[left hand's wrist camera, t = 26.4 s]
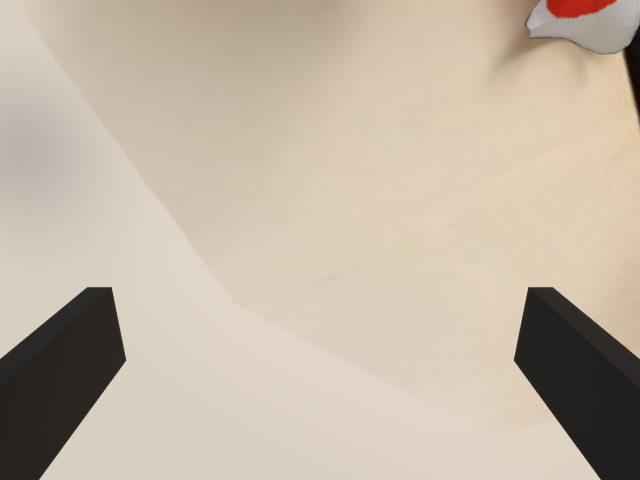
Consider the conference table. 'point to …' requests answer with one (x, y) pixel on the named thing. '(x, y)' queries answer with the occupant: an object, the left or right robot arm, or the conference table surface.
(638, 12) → the fish
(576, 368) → the left robot arm
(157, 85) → the conference table surface
